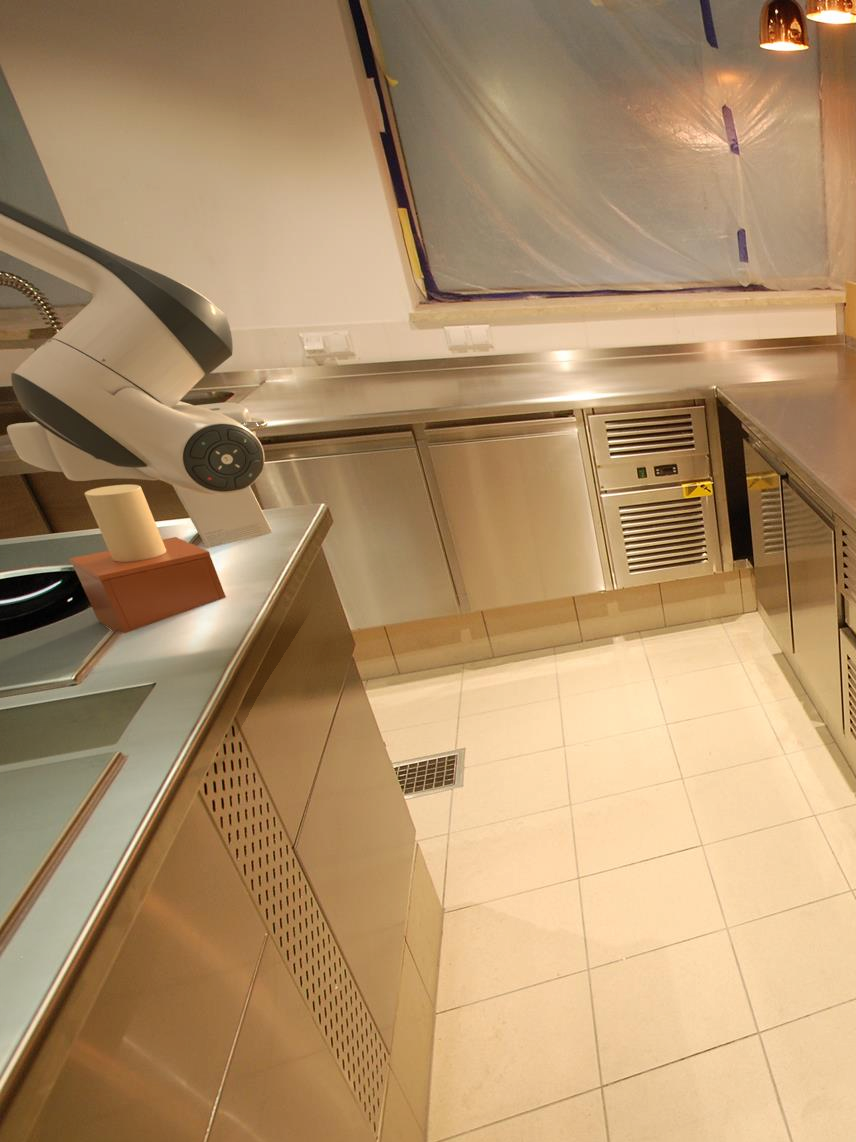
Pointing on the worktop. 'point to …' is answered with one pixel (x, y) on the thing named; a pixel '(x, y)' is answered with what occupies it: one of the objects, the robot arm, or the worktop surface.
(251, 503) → the white product box
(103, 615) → the tin
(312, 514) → the worktop surface
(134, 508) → the candle
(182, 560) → the tin lid
